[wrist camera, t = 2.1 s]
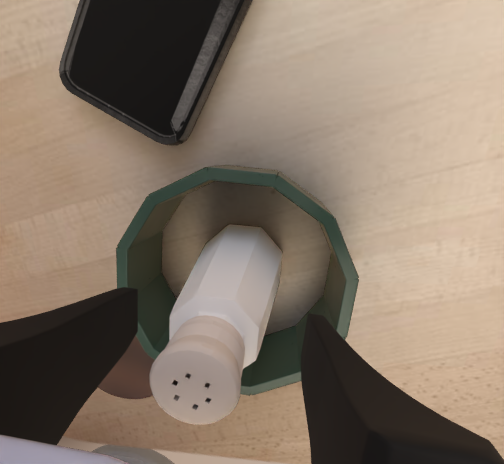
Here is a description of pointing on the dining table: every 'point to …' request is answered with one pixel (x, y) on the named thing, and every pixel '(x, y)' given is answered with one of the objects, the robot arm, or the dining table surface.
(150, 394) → the coaster
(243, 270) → the salt shaker
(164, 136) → the phone
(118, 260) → the green polygonal ring
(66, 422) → the robot arm
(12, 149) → the dining table surface
